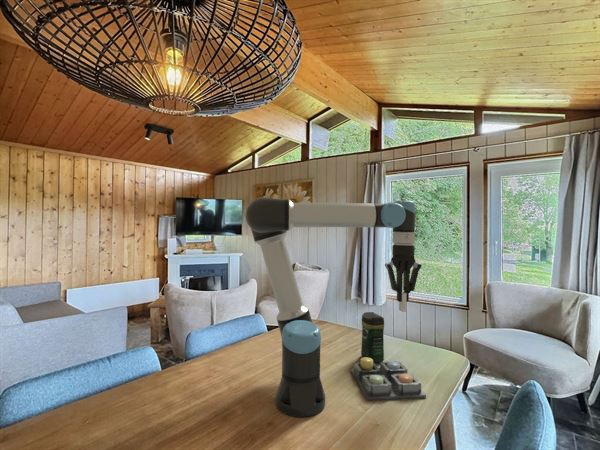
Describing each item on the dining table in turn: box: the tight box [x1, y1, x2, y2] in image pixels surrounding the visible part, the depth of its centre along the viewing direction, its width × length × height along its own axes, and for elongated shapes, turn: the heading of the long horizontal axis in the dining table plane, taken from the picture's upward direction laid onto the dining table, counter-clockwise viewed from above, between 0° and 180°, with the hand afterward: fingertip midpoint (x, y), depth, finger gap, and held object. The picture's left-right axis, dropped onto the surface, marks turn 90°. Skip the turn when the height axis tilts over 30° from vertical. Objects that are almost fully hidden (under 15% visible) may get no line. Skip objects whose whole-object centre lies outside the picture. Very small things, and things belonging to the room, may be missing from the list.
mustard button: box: [360, 357, 373, 370], centre depth 114 cm, size 4×4×3 cm
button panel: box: [350, 360, 427, 401], centre depth 110 cm, size 19×20×4 cm
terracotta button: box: [399, 373, 413, 383], centre depth 106 cm, size 4×4×3 cm
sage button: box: [370, 375, 383, 384], centre depth 104 cm, size 4×4×3 cm
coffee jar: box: [360, 311, 385, 364], centre depth 131 cm, size 10×8×19 cm
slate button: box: [387, 360, 400, 369], centre depth 116 cm, size 4×4×3 cm
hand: (402, 310), depth 113 cm, fingers closed
